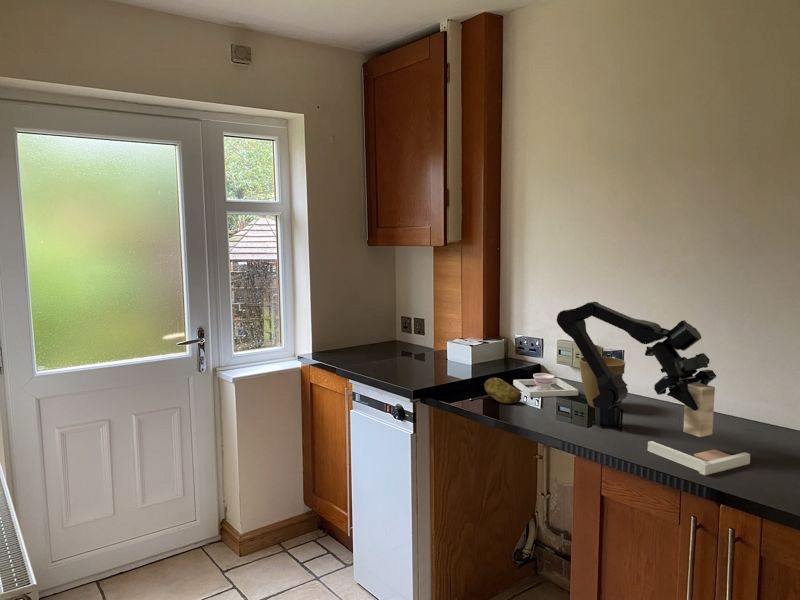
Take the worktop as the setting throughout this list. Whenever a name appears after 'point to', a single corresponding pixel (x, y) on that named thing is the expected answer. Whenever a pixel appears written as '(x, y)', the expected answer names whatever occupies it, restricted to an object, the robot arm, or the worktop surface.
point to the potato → (502, 391)
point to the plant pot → (590, 380)
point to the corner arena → (713, 457)
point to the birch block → (700, 410)
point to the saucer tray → (546, 393)
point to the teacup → (542, 382)
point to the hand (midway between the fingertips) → (703, 408)
